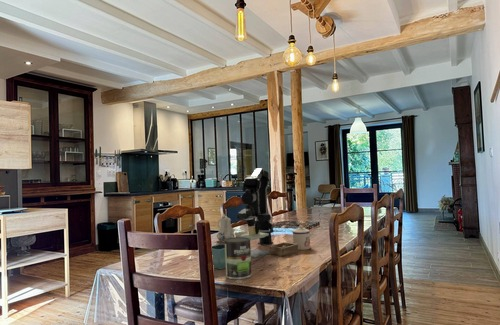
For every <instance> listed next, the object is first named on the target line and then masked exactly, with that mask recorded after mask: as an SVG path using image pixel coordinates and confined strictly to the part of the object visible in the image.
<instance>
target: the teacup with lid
mask: <svg viewBox="0 0 500 325" xmlns="http://www.w3.org/2000/svg"><path fill="white" fill-rule="evenodd" d="M291 232H292V242H293V244H298V251H304V250H305V251H307V250H310V249H311V238H310V237H311V236H310V234H311V232H310V229H308V228H306V227H303V225H299V226H298V227H297V228H295V229H293V230H292V231H291Z"/></svg>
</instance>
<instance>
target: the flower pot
mask: <svg viewBox="0 0 500 325" xmlns="http://www.w3.org/2000/svg"><path fill="white" fill-rule="evenodd" d="M211 246H212V255H213V265H214V269H218V270H222V269H226V260H225V243H224V244H223V243H220V244H216V245H215V244H214V245H211Z"/></svg>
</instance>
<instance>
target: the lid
mask: <svg viewBox="0 0 500 325" xmlns="http://www.w3.org/2000/svg"><path fill="white" fill-rule="evenodd" d="M247 229H248V231H247V232H248V234H244V235H240V237H246V238H250V241H254V240H255V241H256V240H257V239H259V238H263V237H265V236H268V235H269V233H261V232H260V230H259V232H258V234H256V232H255V225H254V226H250V227H248V228H247ZM259 240H260V239H259Z"/></svg>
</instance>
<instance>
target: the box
mask: <svg viewBox="0 0 500 325" xmlns="http://www.w3.org/2000/svg"><path fill="white" fill-rule="evenodd" d="M268 247H269V251H270V254H269V255H272V256H278V257H281V258H282V257H283V258H285V257H288V256H291V255H294V254H297V253H299V250H298V244H293V243H292V242H285V241H283V242H279V243H276V244H272V245H269V246H268Z"/></svg>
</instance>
